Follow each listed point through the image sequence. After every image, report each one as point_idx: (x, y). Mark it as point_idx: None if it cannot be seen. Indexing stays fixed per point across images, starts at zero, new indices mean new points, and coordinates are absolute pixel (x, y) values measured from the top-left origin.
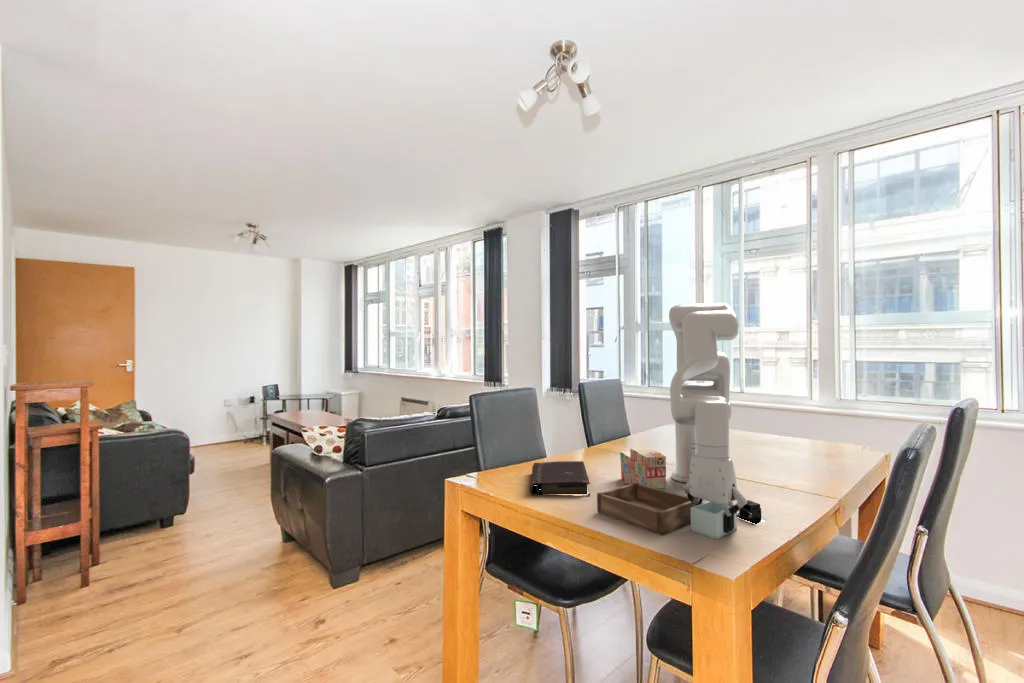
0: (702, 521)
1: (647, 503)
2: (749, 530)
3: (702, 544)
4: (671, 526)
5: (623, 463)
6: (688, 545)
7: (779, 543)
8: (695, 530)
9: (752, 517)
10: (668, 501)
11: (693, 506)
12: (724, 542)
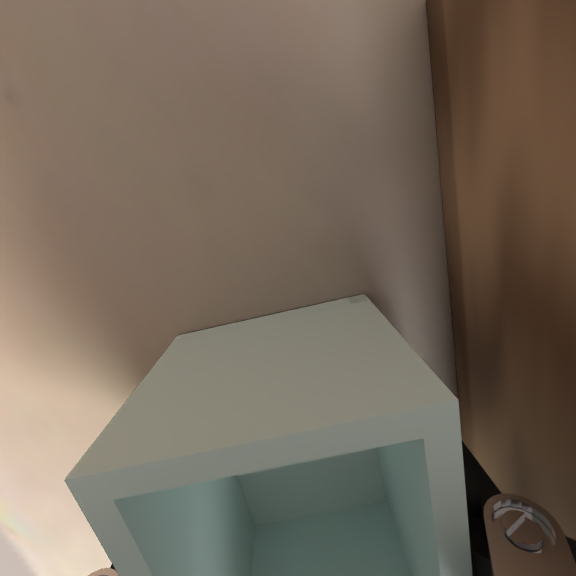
0: (273, 360)
1: None
2: None
3: (142, 181)
4: (461, 148)
5: None
6: (163, 57)
7: (25, 554)
8: (331, 305)
9: None
10: None
11: (506, 494)
12: (122, 340)
